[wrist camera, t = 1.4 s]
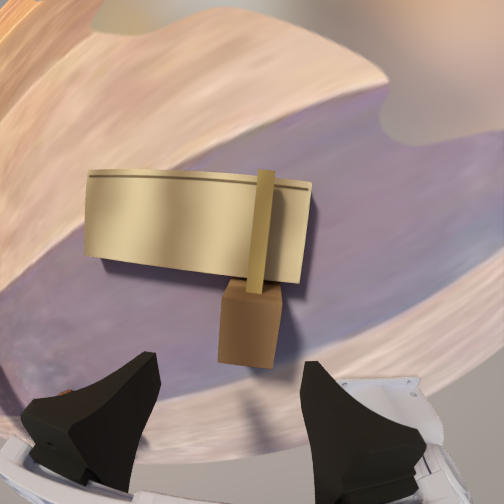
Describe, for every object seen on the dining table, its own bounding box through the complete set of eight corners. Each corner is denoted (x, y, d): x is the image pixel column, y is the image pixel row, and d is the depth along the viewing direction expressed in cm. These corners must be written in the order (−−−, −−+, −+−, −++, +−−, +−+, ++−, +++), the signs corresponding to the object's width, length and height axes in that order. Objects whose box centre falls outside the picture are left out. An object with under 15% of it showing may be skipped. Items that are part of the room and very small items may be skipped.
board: (307, 184, 20) (312, 182, 18) (296, 275, 21) (299, 283, 19) (101, 171, 20) (87, 169, 18) (97, 250, 22) (84, 255, 20)
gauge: (291, 178, 20) (299, 170, 14) (272, 331, 22) (272, 369, 17) (243, 173, 20) (233, 164, 14) (229, 326, 22) (217, 362, 17)
